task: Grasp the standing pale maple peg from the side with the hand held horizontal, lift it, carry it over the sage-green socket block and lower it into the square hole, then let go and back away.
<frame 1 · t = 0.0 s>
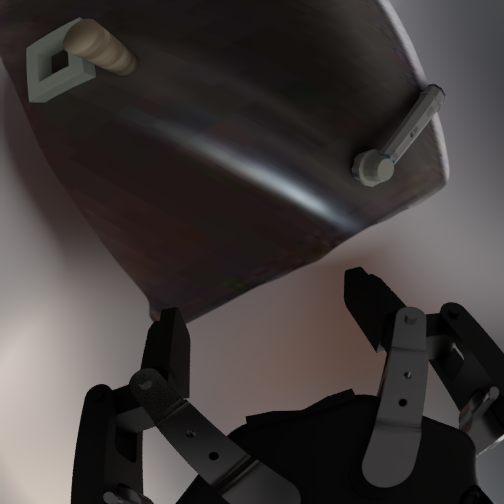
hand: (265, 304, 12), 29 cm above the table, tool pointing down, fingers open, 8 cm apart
toothbrush head: (396, 129, 38), on the table
peg: (126, 65, 28), on the table
socket: (65, 62, 25), on the table
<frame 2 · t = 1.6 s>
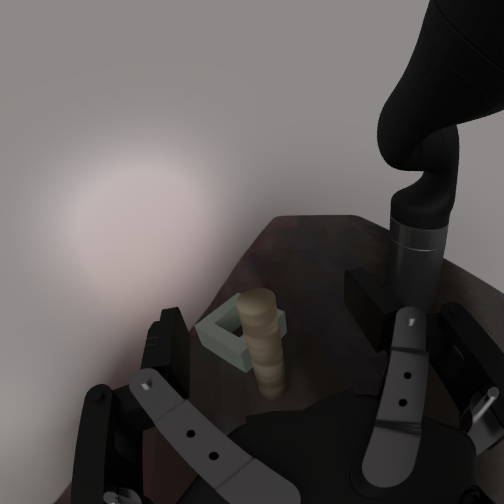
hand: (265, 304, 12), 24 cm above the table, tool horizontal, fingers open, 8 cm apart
peg: (273, 388, 33), on the table
socket: (244, 339, 43), on the table
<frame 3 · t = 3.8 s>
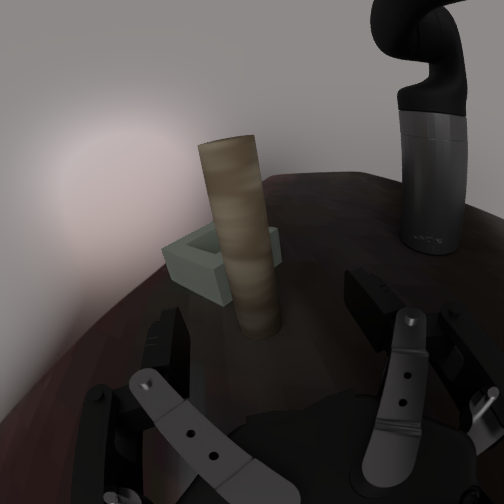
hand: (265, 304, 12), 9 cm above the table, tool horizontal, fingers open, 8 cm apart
peg: (260, 324, 24), on the table
socket: (225, 271, 34), on the table
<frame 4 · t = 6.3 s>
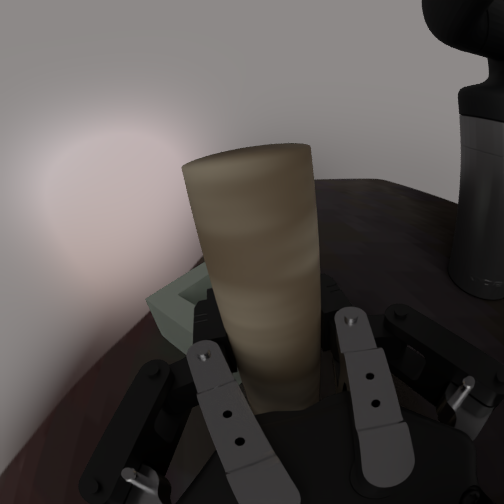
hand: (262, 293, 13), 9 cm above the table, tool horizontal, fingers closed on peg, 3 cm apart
peg: (288, 423, 15), on the table, touching gripper
socket: (233, 327, 24), on the table
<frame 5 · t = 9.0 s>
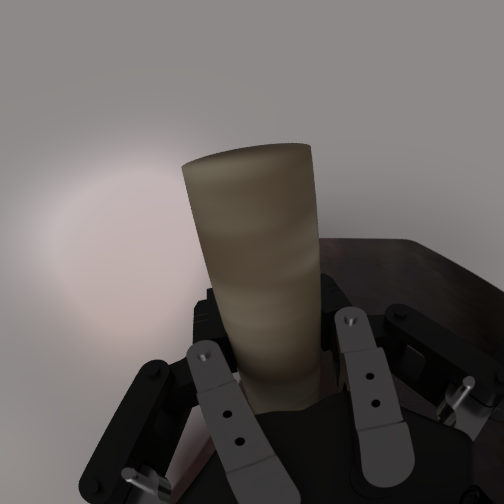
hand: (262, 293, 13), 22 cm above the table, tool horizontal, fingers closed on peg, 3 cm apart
peg: (288, 424, 15), point 13 cm above the table, touching gripper
when the fingers open (10 cm above the table, at t = 12.0 s): peg drops 1 cm, resting in socket.
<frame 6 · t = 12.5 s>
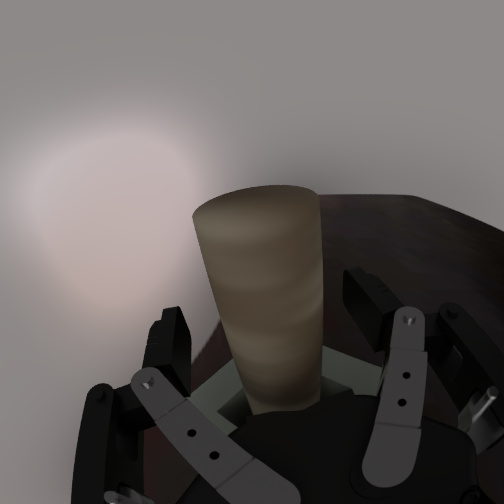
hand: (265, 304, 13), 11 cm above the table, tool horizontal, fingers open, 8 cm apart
peg: (289, 433, 16), resting in socket
socket: (289, 432, 16), on the table
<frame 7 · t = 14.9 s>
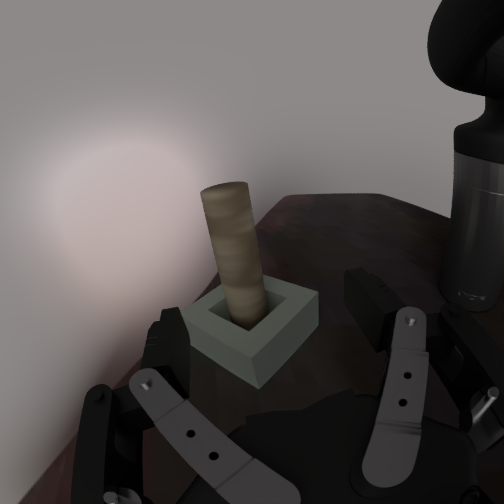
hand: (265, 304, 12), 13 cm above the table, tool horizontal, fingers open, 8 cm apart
peg: (254, 337, 28), resting in socket
socket: (253, 336, 28), on the table
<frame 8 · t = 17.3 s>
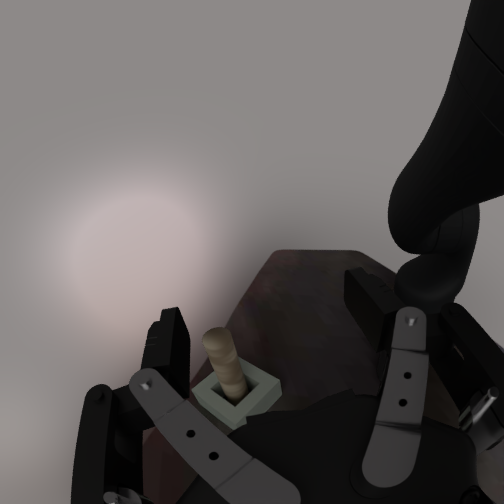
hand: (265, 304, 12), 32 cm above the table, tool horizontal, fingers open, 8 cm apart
peg: (240, 400, 41), resting in socket
socket: (240, 400, 41), on the table
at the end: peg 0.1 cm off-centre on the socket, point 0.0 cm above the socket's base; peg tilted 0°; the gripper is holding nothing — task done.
